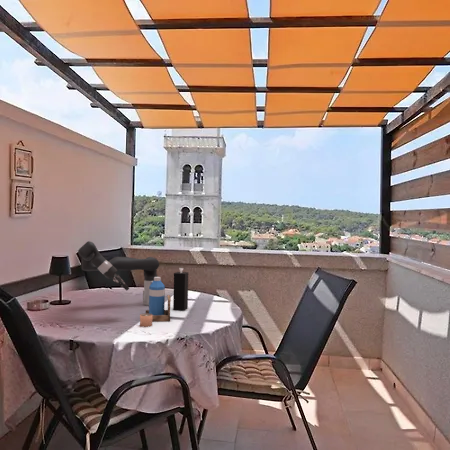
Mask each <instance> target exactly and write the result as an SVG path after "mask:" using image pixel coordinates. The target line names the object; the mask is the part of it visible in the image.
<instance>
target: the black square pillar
mask: <svg viewBox="0 0 450 450" xmlns="http://www.w3.org/2000/svg"><path fill="white" fill-rule="evenodd" d="M178 269H179V271H175V272H174V273H173V298H172V299H173V300H172V304H173V305H172V309H173V311H180V312H181V311H186V310H187V309H188V308H189V306H188V305H189V303H188V302H189V271H184V267H179V268H178Z"/></svg>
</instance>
